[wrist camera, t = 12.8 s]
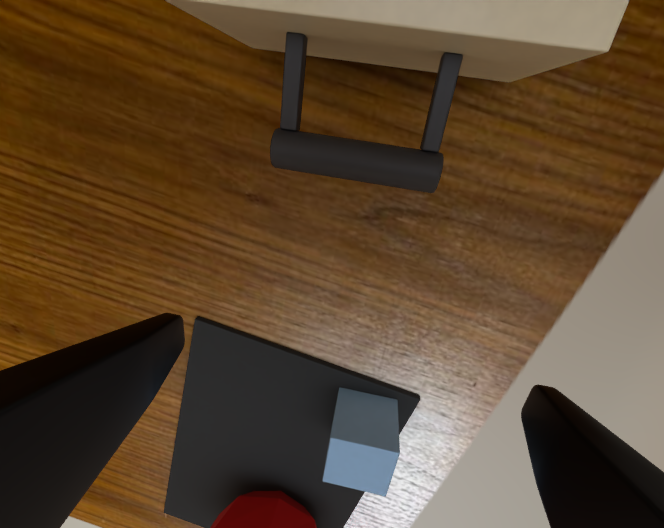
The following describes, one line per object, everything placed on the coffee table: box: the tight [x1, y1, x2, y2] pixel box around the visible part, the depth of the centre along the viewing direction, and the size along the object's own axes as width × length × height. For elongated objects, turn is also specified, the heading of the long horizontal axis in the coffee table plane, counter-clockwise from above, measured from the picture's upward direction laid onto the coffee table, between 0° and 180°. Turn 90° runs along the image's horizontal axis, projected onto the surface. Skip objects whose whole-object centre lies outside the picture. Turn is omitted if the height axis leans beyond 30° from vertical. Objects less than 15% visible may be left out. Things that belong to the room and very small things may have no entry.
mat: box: [164, 316, 420, 528], centre depth 27 cm, size 16×24×1 cm, turn 162°
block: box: [323, 387, 400, 496], centre depth 21 cm, size 4×4×4 cm
